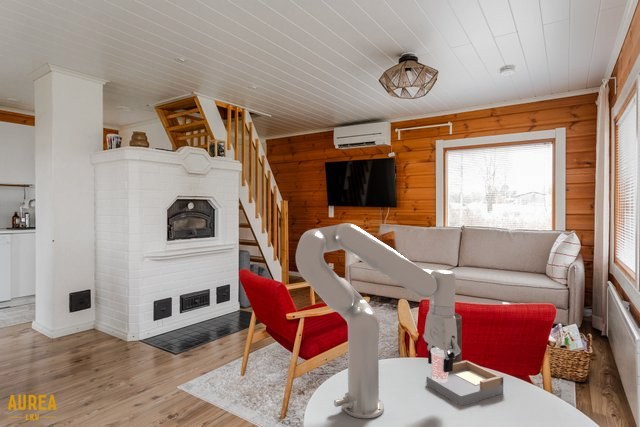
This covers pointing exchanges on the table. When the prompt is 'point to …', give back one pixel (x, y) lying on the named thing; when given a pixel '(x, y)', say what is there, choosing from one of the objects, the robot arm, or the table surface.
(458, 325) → the brown rough cylinder
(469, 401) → the dock
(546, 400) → the table surface
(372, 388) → the robot arm
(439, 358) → the beverage cup
